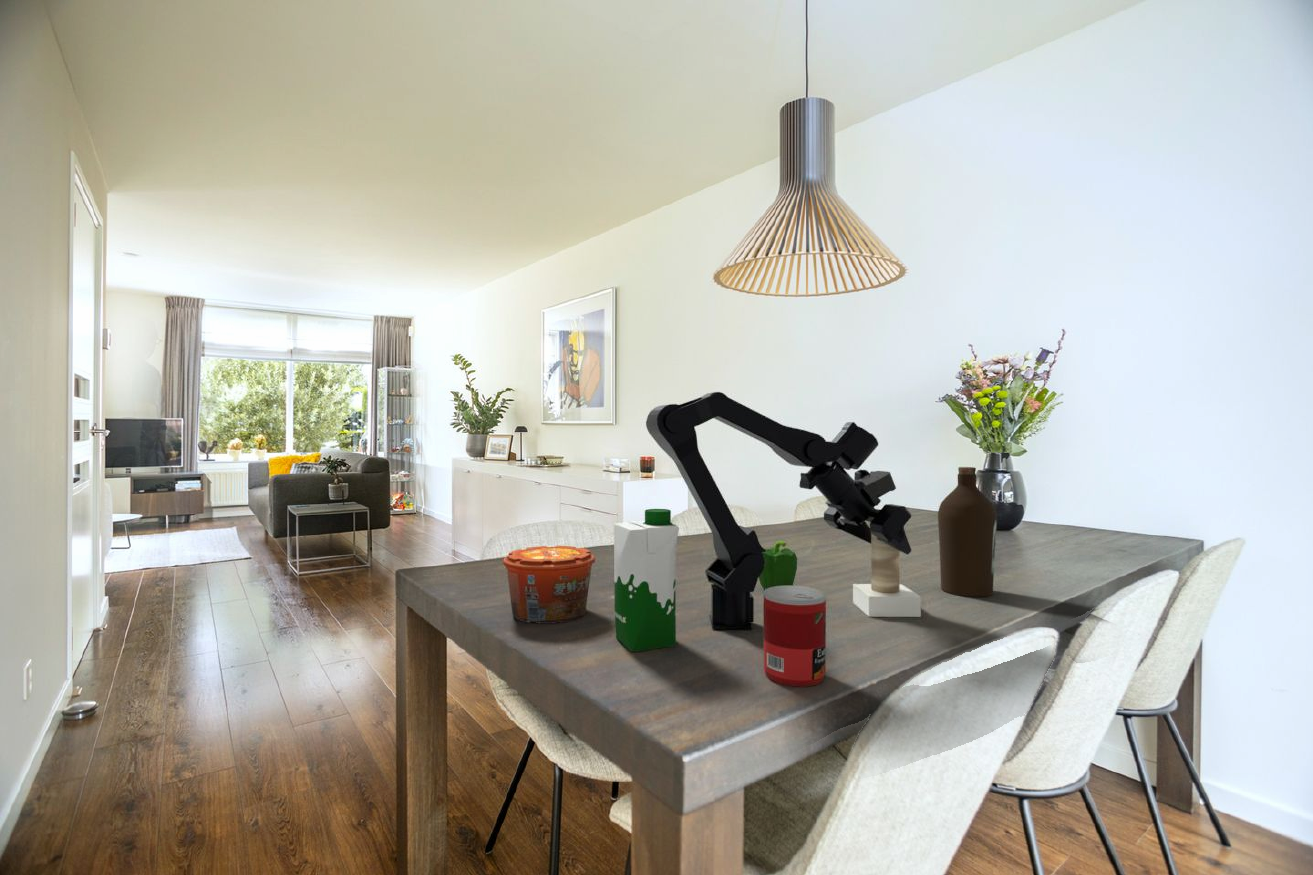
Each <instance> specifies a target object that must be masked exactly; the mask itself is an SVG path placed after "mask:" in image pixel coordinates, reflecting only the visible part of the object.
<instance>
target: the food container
mask: <svg viewBox="0 0 1313 875" xmlns="http://www.w3.org/2000/svg"><path fill="white" fill-rule="evenodd" d="M595 562H596V557H595V555H594V554H593V553H591V550H589V549H587V548H583V547H579V548H577V547H576V546H570V545H556V546H546V545H541V546H531V547H526V548H525V549H520V548H519V549H515V550H512V551H510V552H509V553H508V554H507V556H505V557H503V560H502V566H503V569H504V570H506V572H507V580H508V582H507V583H508V589H509V596H510V597H509V599H510V606H511V613H512V615H513V617H514V618H515V619H516V620H518V619H519V621H521V622H525V621H529V622H528V623H530V622H536V623H535V624H554V623H553V622H559V623H562V622H561V621H565V622H569V621H573V620H575V619H578V618H581V617H583V616H584V615H585V614H586V610H587V604H588V596H589V587H590V582H591V581H590V580H591V574H592V573H591V572H592V565H593V564H594V563H595ZM537 622H538V623H537ZM539 622H540V623H539Z"/></svg>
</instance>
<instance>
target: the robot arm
mask: <svg viewBox="0 0 1313 875" xmlns="http://www.w3.org/2000/svg"><path fill="white" fill-rule="evenodd" d="M712 419H714V420H716V421H719V422H721V423H723V424H725V425H726V426H729V427H730V428H733V429H735V430H737V431H739V432H741V433H743V434H745V435H747V436H749V437H750V438H753V439H755V440H757V441H760V442H761V443H763V444H765V445H766V446H768V447H769V448H770V449H772V451H773V452H774V454H776V455H777V456H778V457H779V458H781V459H783V461H785V462H787V464H789V465H792V466H795V467H805V468H806V467H807V468H810V469H809V470H808V471H807V472H801V473H800V480H799V485H798V486H799V488H800V489H804V490H805V489H806V490H813V489H814V488H816V489H817V490H818V491H819V492H820V493H821V494H822V495H823V497H825V499H826V501H825V504H826V505H827V509H825V511H824V512H823V520H824V522H825V523H826V524H827V525H829V526H830V527H832V528H834V529H835V530H839V531H840V532H843V533H845V534H847V535H850V536H852V537H854V538H857V539H859V540H861V541H863V542H865V543H868V544H869V545H871V533H872V534H873V535H874V536H876V537H877V540H879V541H881V542H883V543H885V544H887V545H889V546H891V547H893V548H895V549H897V550H899V551H900V552H901V553H903V554H905V555H910V553H911V552H912V547H911V545H910V542H909V540H908V537H907V534H906V531H905V525H906V524H907V523H908V521H909V520H910V519H911V518H912V512H910V511H909V510H908V508H907V507H906V506H905V505H904V506H903V505H899V504H898V505H897V504H893V503H890V504H888V503H887V504H884V505H883V506H882V507H881V508H880V509H878V508H876V507H878V505H879V504H880V503H881V502H882V500H881V499H880V497H883V496H884V495H886V494H888V493H890V492H894V491H895V490H896V489H897V486H896V484H895V482H894V479H893V477H892V474H891V471H886V470H885V471H884V470H875V471H874V470H873V471H871V470H870V471H868V470H867V469H861V466H862V465H863V464H864V463H865V462H866V460H868V458H869V457H870V456H871V455H872V453H874V451H875V450H876V449H877V448H878V447H879V441H878V439H877V438H876V436H875V435H874V434H873V433H871V432H869V431H868V430H866V429H864V428H863V427H860V426H858V425H857V424H856V422H854V421H852V422H849V421H847V422H846V423H845V424H844V425H843V426H842V428H841V430H840V431H839V432H838V433H837V434H836V436H835V437H834V438H833V439H832V440H831V441H830V440H829V441H828V440H826V439H825V438H824V437H823V436H822V435H820V434H819V433H815V432H811V431H808V430H805V429H800V428H796V427H792V426H787V425H784V424H782V423H779V422H777V421H776V420H774V419H772V418H770V417H769V416H766V415H764V414H761V413H760V412H758V411H756V410H754V409H752V408H750V407H748V406H746V405H745V404H742V403H740V402H738V401H737V400H734V399H732V398H730V397H728V395H726V394H725V393H723V392H720V391H713V392H709V393H708V392H707V393H706V394H703V395H702V396H700V397H698V398H697V397H696V398H695V399H692V400H689V401H687V402H684V403H680V404H677V403H672V404H671V403H669V404H663V405H658V406H656V407H653V409H651V410H650V412H649V413H648V415H647V416H646V422H645V426H646V429H647V431H648V434H649V435H650V436H651V437H652V438H653V440H654V441H655V442H656V444H657V446H659V447H660V449H661V450H662V451H664V452H665V453H666V454H667V456H668V457H669V458H670V459H671V461H673V462H674V464H675V466H676V468H677V469H678V471H679V473H680V475H681V477H682V479H683V481H684V482H685V484H686V486H687V488H688V490H689V492H690V494H691V495H692V498H693V500H694V501H695V503H696V505H697V507H698V509H699V510H700V512H701V514H702V516H703V518H704V520H705V522H706V523H707V525H708V527H709V529H710V531H711V534H712V542H713V548H714V551H715V555H716V558H715V559H714V561H712V562H711V563H710V564H709V566H708V567H707V568H706V569H705V571H704V574H705V576H706V579H707V581H708V582H709V583H711V584H710V614H709V621H710V625H711V628H712V629H714V630H752V629H753V625H752V623H754V620H755V608H754V607H755V602H754V601H755V598H754V596H753V595H752V594H751V593H753V592H754V591H755V589H756V586H757V583H758V580H759V576H760V575H761V573H762V571H763V569H764V565H765V564H766V562H765V557H764V555H763V553H762V552H766V550H765V549H766V548H764V547H763V546H762V545H761V544H760V542H759V538H758V535H757V532H756V531H755V529H752V528H751V529H750V528H748V527H745V526H743V525H739V524H738V523H737V520H736V519H735V517H734V515H733V514H732V511H731V509H730V508H729V505H728V504H727V502H726V500H725V498H724V496H723V494H722V493H721V491H720V489H719V487H718V485H717V484H716V481H715V479H714V477H713V475H712V473H711V471H710V470H709V468H708V466H707V464H706V462H705V461H704V460H705V459H703V456H702V455H701V452H700V450H699V445H698V444H699V443H698V436H697V431H696V428H695V427H698V426H700V425H702V424H704V423H707V422H709V421H711V420H712ZM851 469H853V470H857V471H855V472H854V478H852V476H850V474H849V473H848V472H847V471H851ZM867 522H869V525H868V524H867Z"/></svg>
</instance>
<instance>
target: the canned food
mask: <svg viewBox="0 0 1313 875" xmlns="http://www.w3.org/2000/svg"><path fill="white" fill-rule="evenodd" d="M826 601H827V599H826V594H825V593H824V592H823V591H821V590H819V589H816V588H813V587H809V586H808V587H807V586H803V585H793V586H774V587H770V588H767V589H765V588H764V591H763V671H764V674H765V676H766V677H767V678H768V679H769V680H770V681H773V682H774V683H776V684H777V683H778V684H780V685H783V686H790V687H798V688H799V687H812V686H817V685H818V684H820V683H822V682H823V681H824V678H825V675H826V672H827V670H826V666H827V665H826V659H827V658H826V655H827V654H826V652H827V648H826V647H827V646H826V645H827V642H826V641H827V640H826V638H827V632H826V631H827V602H826Z"/></svg>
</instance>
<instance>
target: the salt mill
mask: <svg viewBox="0 0 1313 875" xmlns="http://www.w3.org/2000/svg"><path fill="white" fill-rule="evenodd" d="M870 548H871V549H870V552H871V554H870V556H871V557H870V560H871V561H870V562H871V563H870V564H871V566H870V571H871V573H870V574H871V575H870V579H871V580H870V581H871V582H870V584H871V589H872V590H873V591H875V592H880V593H898V592H899V591H900V584H901V583H900V580H901V579H900V577H901V576H900V569H901V568H900V564H901V562H900V561H901V560H900V556H901V554H900V552H901V551H899V550H897V549H895V548H893V547H891V546H889V545H887V544H885V543H883V542H881V541H879V540H877V537H876V536H874V535H873V534H872V533H871V544H870Z"/></svg>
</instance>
